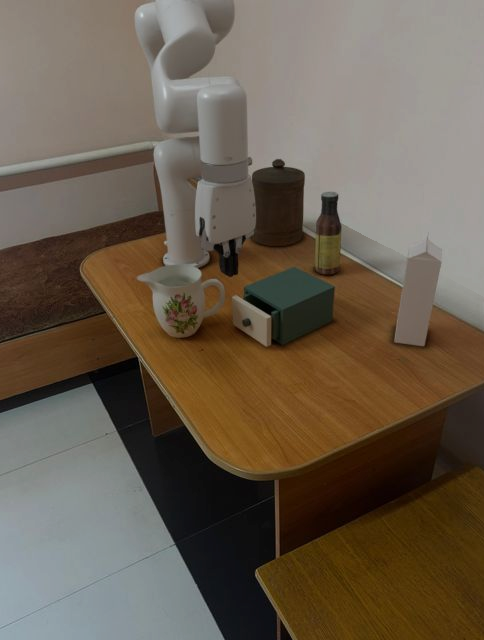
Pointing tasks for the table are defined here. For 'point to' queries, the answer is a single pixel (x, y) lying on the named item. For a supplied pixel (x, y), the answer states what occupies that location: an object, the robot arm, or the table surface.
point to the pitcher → (180, 298)
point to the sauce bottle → (328, 236)
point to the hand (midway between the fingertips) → (229, 273)
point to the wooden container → (278, 204)
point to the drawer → (256, 318)
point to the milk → (418, 292)
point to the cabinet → (296, 301)
